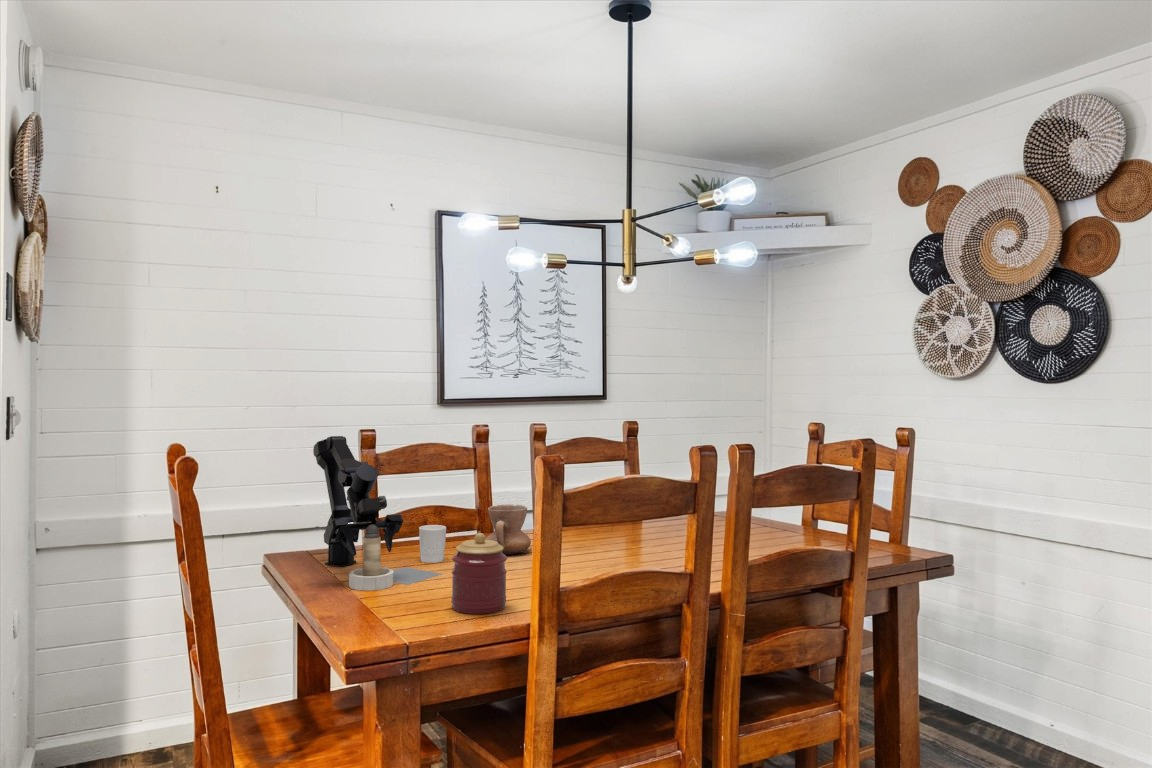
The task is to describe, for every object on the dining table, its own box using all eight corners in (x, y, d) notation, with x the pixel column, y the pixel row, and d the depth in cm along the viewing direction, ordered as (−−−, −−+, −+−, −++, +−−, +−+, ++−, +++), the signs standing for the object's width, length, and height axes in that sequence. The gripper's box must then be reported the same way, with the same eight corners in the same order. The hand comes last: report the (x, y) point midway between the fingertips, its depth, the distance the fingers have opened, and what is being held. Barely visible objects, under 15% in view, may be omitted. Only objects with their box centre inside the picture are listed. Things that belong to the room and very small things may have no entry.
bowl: (340, 588, 204) (340, 574, 204) (365, 578, 214) (365, 565, 214) (377, 593, 200) (377, 579, 200) (401, 583, 211) (401, 569, 211)
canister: (459, 617, 182) (460, 540, 181) (445, 602, 193) (446, 529, 193) (513, 612, 187) (515, 536, 187) (496, 597, 199) (497, 526, 198)
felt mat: (368, 578, 215) (368, 577, 215) (404, 568, 227) (405, 567, 227) (407, 585, 208) (407, 584, 208) (443, 575, 220) (443, 573, 220)
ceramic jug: (495, 545, 261) (495, 501, 261) (537, 547, 257) (537, 503, 257) (474, 557, 243) (474, 511, 243) (519, 560, 240) (519, 513, 239)
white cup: (439, 564, 232) (440, 530, 232) (414, 563, 233) (414, 529, 233) (449, 559, 239) (450, 525, 239) (424, 557, 241) (425, 524, 241)
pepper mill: (359, 583, 207) (360, 524, 207) (374, 580, 210) (375, 522, 210) (367, 586, 204) (368, 526, 204) (383, 583, 207) (384, 524, 207)
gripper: (332, 487, 206) (343, 538, 197) (401, 483, 216) (415, 531, 207) (323, 513, 213) (334, 563, 203) (391, 508, 223) (404, 556, 213)
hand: (372, 553), depth 207 cm, fingers open, 9 cm apart
